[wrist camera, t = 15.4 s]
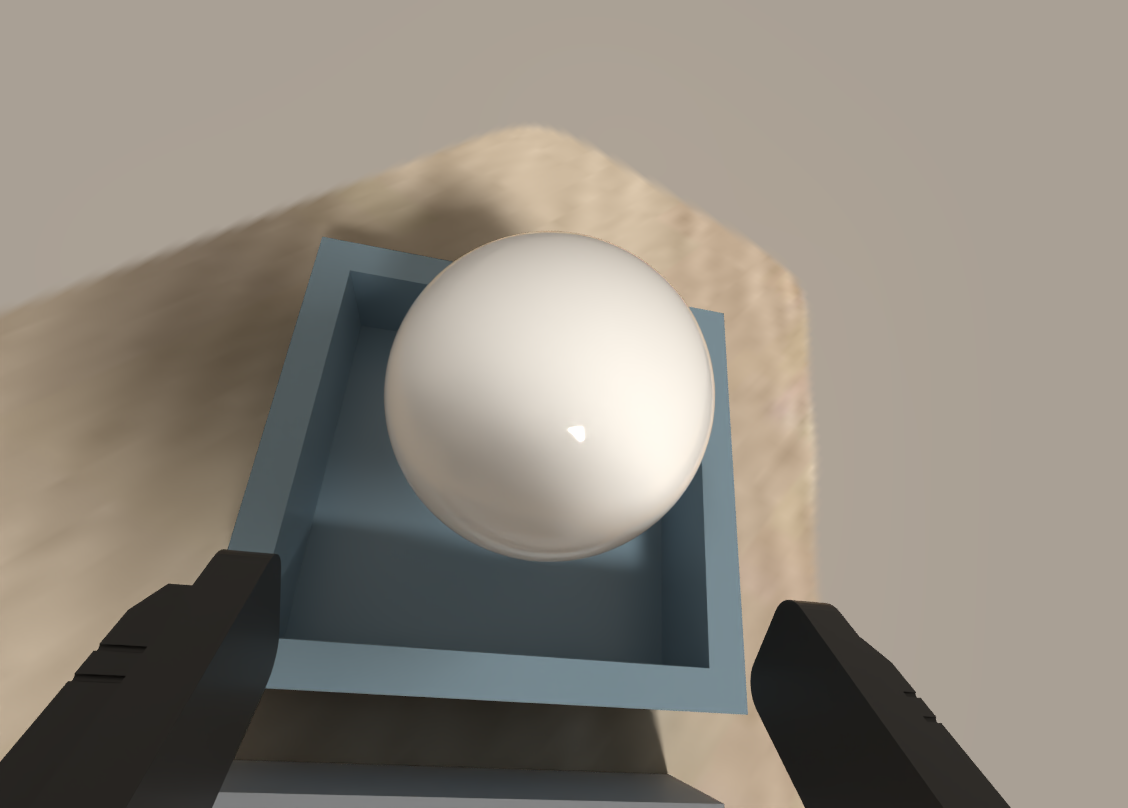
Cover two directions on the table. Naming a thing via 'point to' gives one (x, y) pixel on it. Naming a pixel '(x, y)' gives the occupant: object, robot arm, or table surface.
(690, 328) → the lightbulb
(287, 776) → the socket block
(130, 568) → the table surface
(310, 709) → the table surface
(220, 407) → the table surface
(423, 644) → the parts tray
